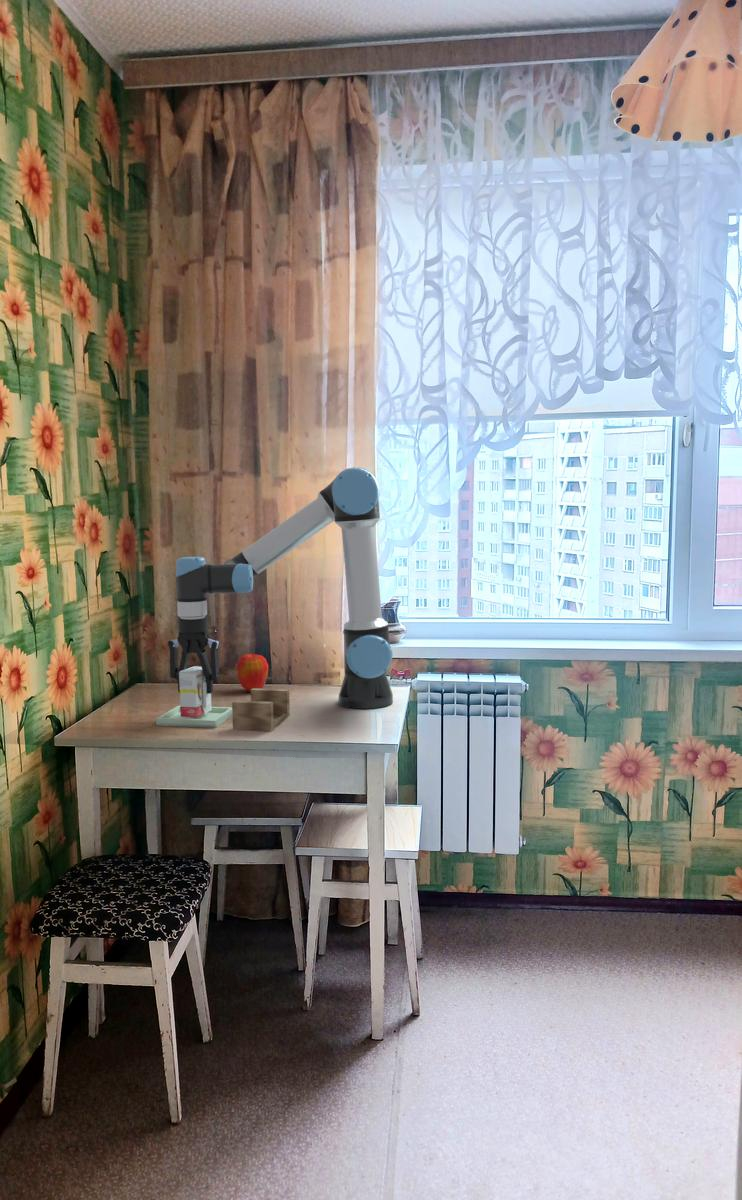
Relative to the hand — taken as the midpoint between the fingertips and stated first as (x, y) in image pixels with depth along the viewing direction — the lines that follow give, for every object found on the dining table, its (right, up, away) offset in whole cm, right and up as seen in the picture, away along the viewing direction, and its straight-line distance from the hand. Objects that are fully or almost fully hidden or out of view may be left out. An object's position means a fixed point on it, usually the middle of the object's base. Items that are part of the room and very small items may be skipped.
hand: (196, 704), depth 238 cm
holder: (+18, -4, -3) cm, 18 cm away
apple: (+11, 0, +33) cm, 34 cm away
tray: (0, -4, 0) cm, 4 cm away
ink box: (0, -3, 0) cm, 2 cm away
